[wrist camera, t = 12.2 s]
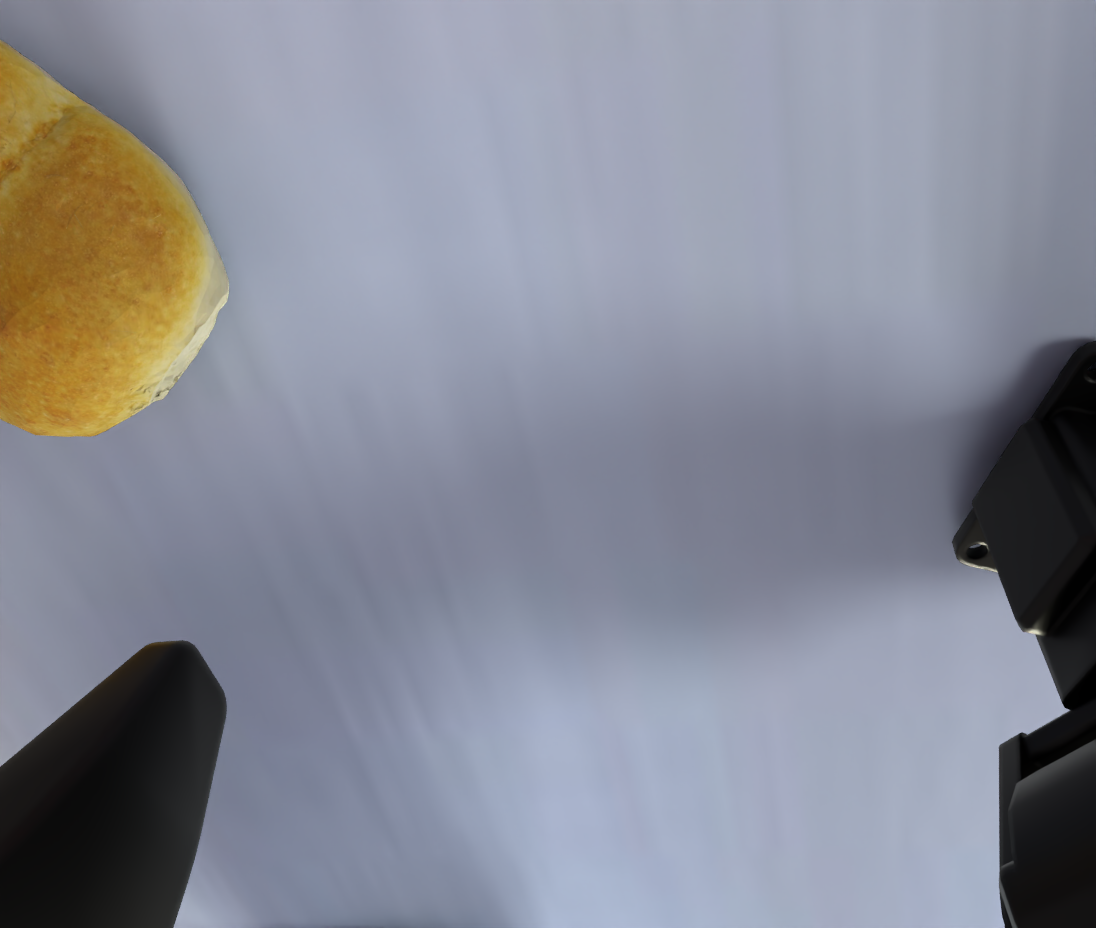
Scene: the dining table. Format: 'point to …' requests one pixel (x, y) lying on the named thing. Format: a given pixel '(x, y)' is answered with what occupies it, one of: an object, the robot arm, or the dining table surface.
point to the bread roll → (92, 263)
